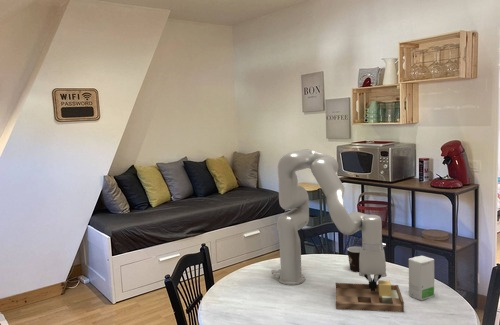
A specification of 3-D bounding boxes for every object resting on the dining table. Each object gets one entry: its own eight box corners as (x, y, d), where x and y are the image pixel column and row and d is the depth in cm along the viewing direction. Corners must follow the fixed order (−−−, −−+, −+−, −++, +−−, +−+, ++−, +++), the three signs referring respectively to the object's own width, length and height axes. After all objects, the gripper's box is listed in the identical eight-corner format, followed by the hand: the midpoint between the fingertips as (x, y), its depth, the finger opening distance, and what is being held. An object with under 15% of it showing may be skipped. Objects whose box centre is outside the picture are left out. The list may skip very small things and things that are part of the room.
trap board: (335, 309, 163) (335, 298, 163) (335, 292, 178) (335, 283, 178) (403, 312, 158) (403, 301, 158) (398, 294, 173) (397, 285, 172)
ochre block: (379, 295, 168) (379, 284, 167) (378, 290, 172) (378, 280, 172) (391, 296, 167) (391, 285, 166) (389, 291, 171) (389, 280, 171)
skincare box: (420, 301, 166) (420, 263, 164) (407, 295, 172) (407, 258, 170) (435, 296, 170) (435, 258, 168) (421, 290, 176) (421, 254, 174)
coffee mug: (347, 266, 207) (346, 246, 205) (365, 266, 205) (364, 246, 204) (349, 275, 195) (348, 254, 194) (368, 275, 194) (368, 254, 193)
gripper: (390, 243, 170) (391, 286, 172) (352, 242, 173) (353, 285, 176) (392, 249, 163) (393, 294, 165) (353, 248, 166) (354, 293, 168)
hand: (372, 289), depth 170 cm, fingers closed
